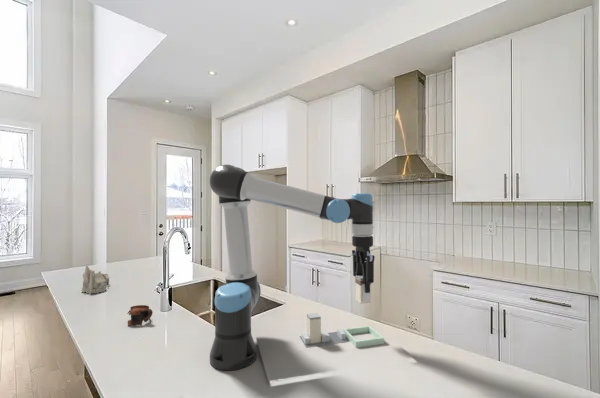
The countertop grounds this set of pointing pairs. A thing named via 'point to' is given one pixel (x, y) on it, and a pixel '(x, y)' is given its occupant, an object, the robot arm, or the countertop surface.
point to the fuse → (314, 327)
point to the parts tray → (366, 342)
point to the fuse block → (325, 338)
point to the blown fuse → (360, 289)
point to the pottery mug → (139, 314)
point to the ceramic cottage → (95, 281)
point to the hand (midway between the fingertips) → (363, 298)
